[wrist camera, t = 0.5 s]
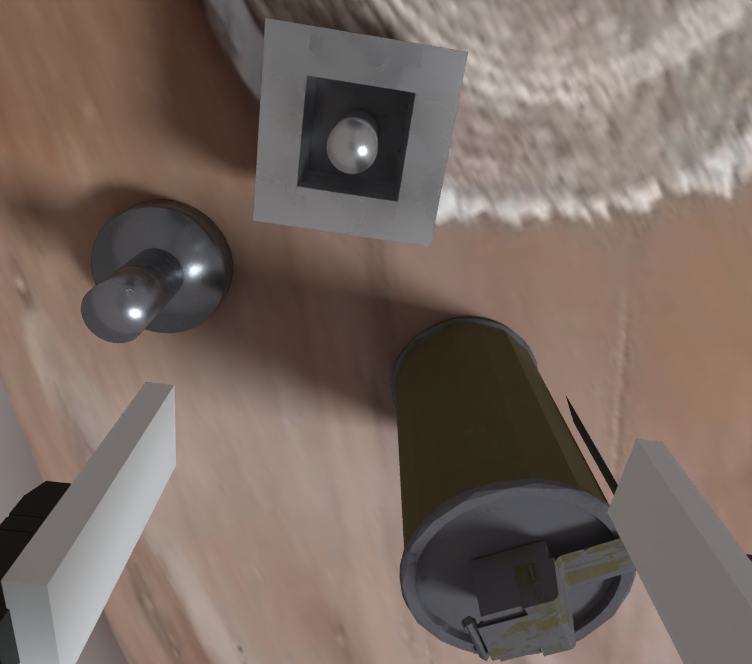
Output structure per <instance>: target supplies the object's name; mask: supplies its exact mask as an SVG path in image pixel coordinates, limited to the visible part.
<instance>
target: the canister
mask: <svg viewBox="0 0 752 664" xmlns="http://www.w3.org/2000/svg"><path fill="white" fill-rule="evenodd" d="M392 395H393V401H394V404H395V406H396V409H397V425H398V444H399V462H400V481H401V500H402V518H403V537H404V551H403V555H402V559H401V564H400V584H401V590H402V596H403V598H404V600H405V603H406V605H407V606H408V608H409V610H410V611H411V613H412V614H413V616H414V618H415V619H416V621H417V622H418V623H419V624H420V625H421V626H422V627H424V628H425V629H426V630H428V631H429V632H430V633H432V634H433V635H434V636H436V637H437V638H438V639H439V640H441V641H443V642H445V643H447V644H450V645H452V646H455V647H457V648H460V649H462V650H466V651H469V652H473V653H474V654H475V653H476V654H479V656H480V658H482V659H484V660H485V661H487V660H488V658H489V655H490V657H491V659H492V660H497V659H500V660H501V661H505V660H509V659H513V658H516V657H520V656H524V655H531V654H538V653H543V655H544V656H546V655H550V654H554V653H558V652H562V651H567V650H571V649H573V648H574V647H575V645H576V641H579V640H581V639H583V638H584V637H585V636H587V635H588V634H590V633H591V632H592V631H594V630H595V629H597V628H598V627H599V626H601V625H602V624H603V623H605V622H606V621H607V620H609V619H610V618H611V617H612V616H614V614H615V613H616V611H617V610H618V608H619V607H620V605H621V604H622V602H623V601H624V599H625V598H626V597H627V595H628V594H629V592H630V590H631V587H632V584H633V581H634V578H635V575H636V568H635V566H634V564H633V562H632V560H631V558H630V556H629V554H628V552H627V550H626V548H625V546H624V544H623V542H622V540H621V538H620V536H619V534H618V532H617V530H616V528H615V526H614V524H613V522H612V520H611V518H610V516H609V514H608V509H609V507H610V506H609V504H608V502H607V500H606V498H605V496H604V494H603V492H602V491H601V489H600V487H599V485H598V483H597V481H596V479H595V477H594V475H593V474H592V472H591V470H590V468H589V466H588V464H587V462H586V460H585V458H584V457H583V455H582V453H581V451H580V449H579V447H578V445H577V443H576V441H575V440H574V438H573V436H572V434H571V432H570V430H569V428H568V426H567V424H566V422H565V421H564V419H563V417H562V415H561V413H560V411H559V409H558V407H557V405H556V404H555V402H554V400H553V398H552V396H551V394H550V392H549V390H548V388H547V387H546V385H545V383H544V381H543V379H542V377H541V375H540V373H539V371H538V369H537V363H536V360H535V358H534V355H533V353H532V351H531V350H530V348H529V346H528V345H527V344H526V343H525V341H524V340H523V339H522V338H521V337H519V336H518V335H517V334H516V333H514V332H513V331H512V330H510V329H509V328H508V327H506V326H504V325H501V324H499V323H497V322H494V321H491V320H486V319H480V318H459V319H451V320H449V321H446V322H443V323H441V324H438V325H436V326H433V327H431V328H429V329H427V330H425V331H423V332H422V333H420V334H419V335H418V336H417V337H415V338H414V339H413V340H411V342H410V343H409V344H408V346H407V347H406V348H405V350H404V351H403V353H402V354H401V355H400V357H399V358H398V360H397V363H396V366H395V369H394V372H393V376H392ZM566 398H567V396H566ZM567 401H568V405H569V408H570V411H571V415H572V418H573V421H574V424H575V426H576V428H577V429H578V431H579V433H580V435H581V437H582V438H583V440H584V442H585V444H586V446H587V447H588V449H589V451H590V453H591V455H592V456H593V458H594V460H595V462H596V464H597V465H598V467H599V469H600V471H601V473H602V474H603V476H604V478H605V480H606V482H607V483H608V485H609V487H610V489H611V491H612V492H613V494H615V492H616V489H617V487H618V484H617V483H616V481H615V479H614V478H613V476H612V474H611V472H610V471H609V469H608V467H607V465H606V464H605V462H604V460H603V459H602V457H601V455H600V453H599V452H598V450H597V448H596V446H595V445H594V443H593V441H592V439H591V438H590V436H589V434H588V433H587V431H586V429H585V427H584V426H583V424H582V422H581V420H580V419H579V417H578V415H577V414H576V412H575V410H574V408H573V407H572V405H571V403H570V401H569V400H568V398H567Z"/></svg>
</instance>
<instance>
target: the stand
mask: <svg viewBox="0 0 752 664" xmlns="http://www.w3.org/2000/svg"><path fill="white" fill-rule="evenodd" d="M409 95H410V92H407V91H401V90H394V89H388V88H382V87H376V86H370V85H364V84H358V83H351V82H345V81H339V80H333V79H327V78H321V77H317V84H316V95H315V105H314V115H313V126H312V136H311V146H310V157H309V167H308V170H310V171H316V172H323V173H330V174H336V175H343V176H349V177H356V178H362V179H369V180H375V181H382V182H389V183H395V182H396V176H397V169H398V163H399V157H400V151H401V144H402V138H403V132H404V126H405V119H406V113H407V107H408V101H409Z"/></svg>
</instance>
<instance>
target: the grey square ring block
mask: <svg viewBox="0 0 752 664" xmlns="http://www.w3.org/2000/svg"><path fill="white" fill-rule="evenodd" d="M467 55H468V52H466V51H460V50H454V49H448V48H442V47H436V46H430V45H424V44H418V43H412V42H406V41H400V40H394V39H388V38H382V37H376V36H370V35H364V34H358V33H352V32H346V31H340V30H334V29H328V28H322V27H316V26H310V25H305V24H299V23H293V22H287V21H281V20H275V19H269V18H265V33H264V50H263V66H262V83H261V99H260V116H259V133H258V149H257V166H256V182H255V199H254V216H253V221H259V222H266V223H273V224H279V225H286V226H293V227H300V228H307V229H313V230H320V231H327V232H334V233H341V234H348V235H354V236H361V237H368V238H375V239H382V240H388V241H395V242H402V243H409V244H416V245H422V246H429V247H430V246H431V241H432V235H433V230H434V225H435V220H436V215H437V210H438V205H439V199H440V194H441V189H442V184H443V179H444V174H445V169H446V163H447V158H448V153H449V148H450V143H451V138H452V133H453V127H454V122H455V117H456V112H457V107H458V102H459V97H460V91H461V86H462V81H463V76H464V71H465V66H466V60H467ZM317 77H321V78H327V79H333V80H339V81H345V82H351V83H358V84H364V85H370V86H376V87H382V88H388V89H394V90H401V91H407V92H410V95H409V101H408V107H407V113H406V119H405V126H404V132H403V138H402V144H401V151H400V157H399V163H398V169H397V176H396V182H395V183H389V182H382V181H375V180H369V179H362V178H356V177H349V176H343V175H336V174H330V173H323V172H316V171H310V170H308V167H309V157H310V146H311V136H312V126H313V115H314V105H315V95H316V84H317Z"/></svg>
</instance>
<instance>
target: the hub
mask: <svg viewBox="0 0 752 664" xmlns="http://www.w3.org/2000/svg"><path fill="white" fill-rule="evenodd" d="M91 265H92V273H93V276H94V280H95V283H96V286H95V287H94V288H92V289H91V290H90V291H89V292H88V293H87V294H86V295H85V296H84V298H83V300H82V304H81V314H82V318H83V320H84V322H85V324H86V326H87V327H88V328H89V329H90V330H91V332H93V333H94V334H95V335H96V336H98V337H99V338H101V339H103V340H105V341H109V342H113V343H125V342H129V341H131V340H133V339H135V338H136V337H137V336H139V334H140V333H141V332H142V331H143V330H144V329H146V330H150V331H155V332H162V333H175V332H181V331H185V330H188V329H191V328H193V327H195V326H197V325H199V324H201V323H202V322H204V321H205V320H206V319H207V318H208V317H209V316H210V315H211V314H212V313H213V311H214V310H215V309H216V307H217V306H218V304H219V303H220V301H221V300H222V298H223V297H224V295H225V294H226V292H227V290H228V288H229V286H230V283H231V279H232V273H233V261H232V255H231V251H230V248H229V245H228V243H227V241H226V239H225V237H224V235H223V234H222V232H221V231H220V229H219V228H218V227H217V225H216V224H215V223H214V222H213V221H212V220H211V219H210V218H208V217H207V216H206V215H205V214H204V213H202V212H200V211H199V210H197V209H196V208H194V207H192V206H189V205H187V204H184V203H181V202H178V201H173V200H163V199H162V200H151V201H146V202H143V203H140V204H138V205H136V206H134V207H132V208H130V209H128V210H127V211H125V212H123V213H121V214H119V215H118V216H116V217H114V218H113V219H112V220H110V221H109V222H108V223H107V224H106V225H105V226H104V227H103V228H102V230H101V231H100V232H99V234H98V236H97V238H96V240H95V242H94V246H93V249H92V256H91Z"/></svg>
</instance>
